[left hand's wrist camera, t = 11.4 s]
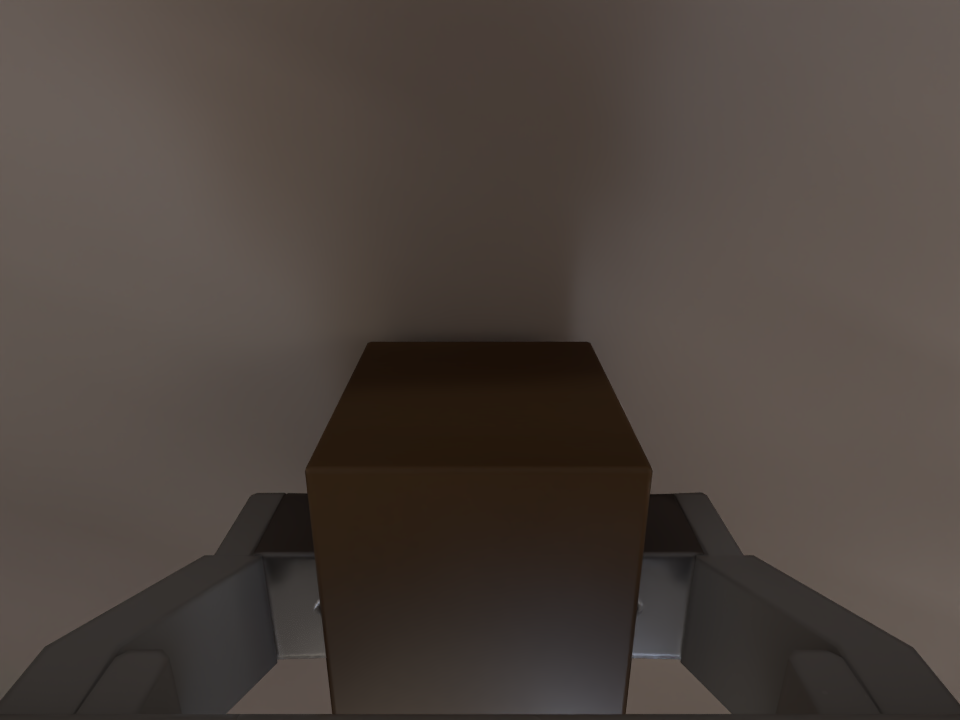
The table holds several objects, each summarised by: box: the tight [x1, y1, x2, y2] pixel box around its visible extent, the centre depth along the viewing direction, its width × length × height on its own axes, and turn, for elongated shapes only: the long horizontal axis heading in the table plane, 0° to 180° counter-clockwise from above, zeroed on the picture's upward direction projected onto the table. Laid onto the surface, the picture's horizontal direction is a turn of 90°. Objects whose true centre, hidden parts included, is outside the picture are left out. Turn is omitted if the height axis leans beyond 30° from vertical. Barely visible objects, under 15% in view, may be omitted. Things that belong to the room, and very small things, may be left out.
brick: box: [305, 342, 652, 714], centre depth 10 cm, size 5×4×4 cm
